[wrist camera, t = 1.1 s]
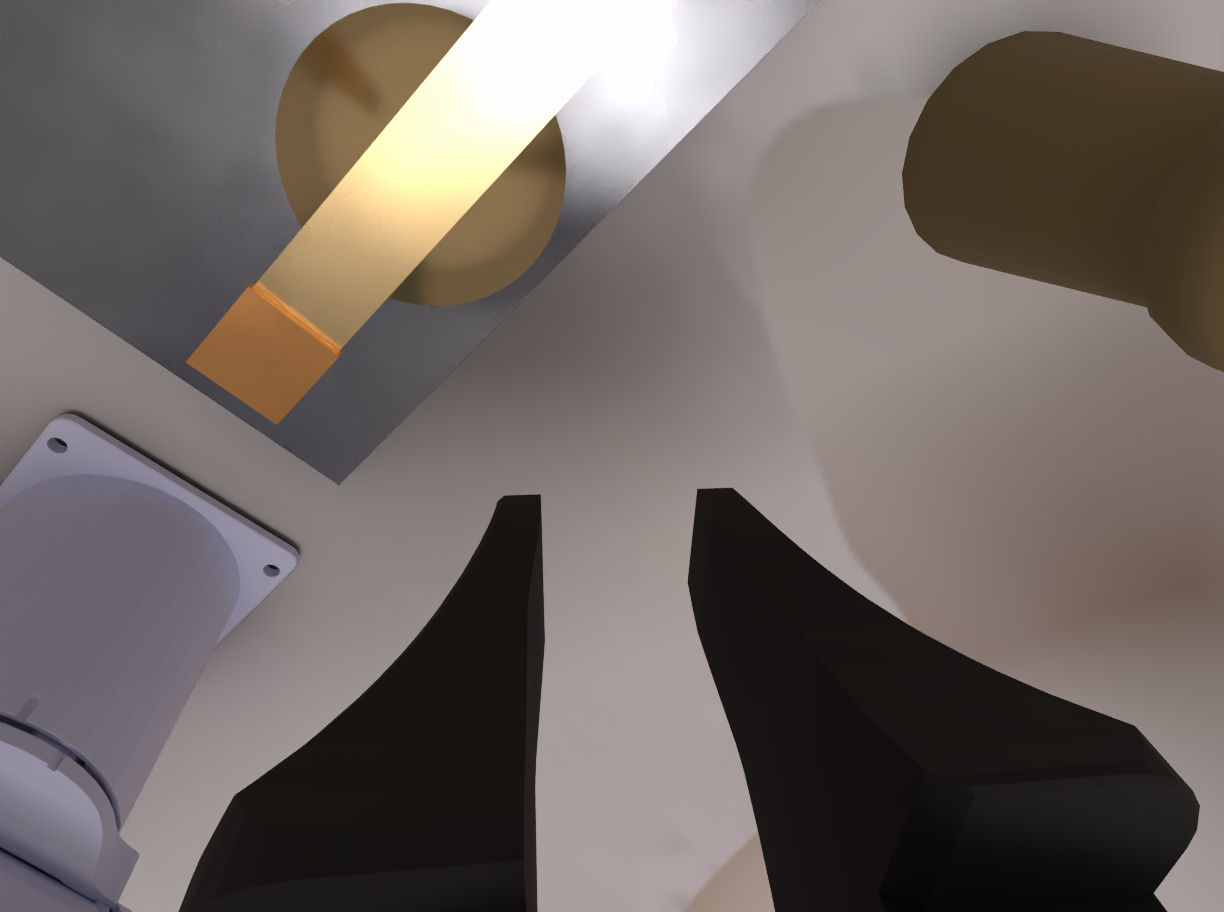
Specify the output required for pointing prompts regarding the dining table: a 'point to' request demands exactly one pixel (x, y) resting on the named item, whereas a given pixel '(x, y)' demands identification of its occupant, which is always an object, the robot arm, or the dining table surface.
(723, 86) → the plate
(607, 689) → the dining table surface
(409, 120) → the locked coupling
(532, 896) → the robot arm
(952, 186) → the cork
